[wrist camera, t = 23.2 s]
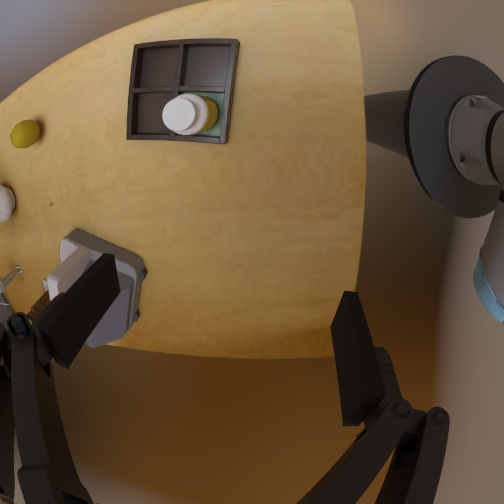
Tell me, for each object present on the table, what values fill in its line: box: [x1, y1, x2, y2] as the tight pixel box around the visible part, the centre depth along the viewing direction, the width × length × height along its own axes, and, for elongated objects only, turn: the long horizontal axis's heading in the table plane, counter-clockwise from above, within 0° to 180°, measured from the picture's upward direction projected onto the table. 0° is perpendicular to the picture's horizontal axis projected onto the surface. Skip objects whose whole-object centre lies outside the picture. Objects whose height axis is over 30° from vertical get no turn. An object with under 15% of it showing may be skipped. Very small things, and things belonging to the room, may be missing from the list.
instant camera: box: [47, 229, 146, 348], centre depth 46 cm, size 21×21×15 cm
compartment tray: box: [126, 39, 240, 144], centre depth 33 cm, size 16×16×2 cm
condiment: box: [26, 279, 50, 324], centre depth 53 cm, size 7×8×12 cm
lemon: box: [10, 120, 40, 148], centre depth 34 cm, size 6×6×8 cm
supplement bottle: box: [162, 94, 219, 135], centre depth 31 cm, size 5×5×10 cm
